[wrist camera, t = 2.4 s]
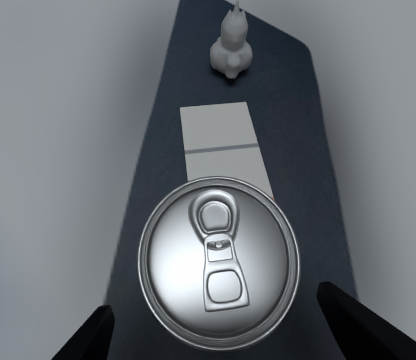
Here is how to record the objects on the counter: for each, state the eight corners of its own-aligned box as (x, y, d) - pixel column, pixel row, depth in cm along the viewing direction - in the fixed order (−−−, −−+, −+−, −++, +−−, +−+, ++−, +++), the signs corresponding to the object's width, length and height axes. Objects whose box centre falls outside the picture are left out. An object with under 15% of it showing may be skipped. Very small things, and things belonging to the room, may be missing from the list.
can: (236, 220, 19) (284, 159, 8) (250, 295, 17) (346, 352, 6) (170, 228, 19) (126, 173, 8) (174, 307, 16) (117, 394, 5)
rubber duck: (245, 57, 29) (260, -14, 22) (250, 89, 26) (269, 22, 19) (208, 56, 29) (211, -15, 22) (210, 89, 26) (213, 21, 19)
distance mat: (276, 208, 20) (276, 208, 20) (192, 219, 19) (192, 219, 19) (245, 102, 25) (246, 101, 25) (180, 108, 25) (179, 107, 25)
